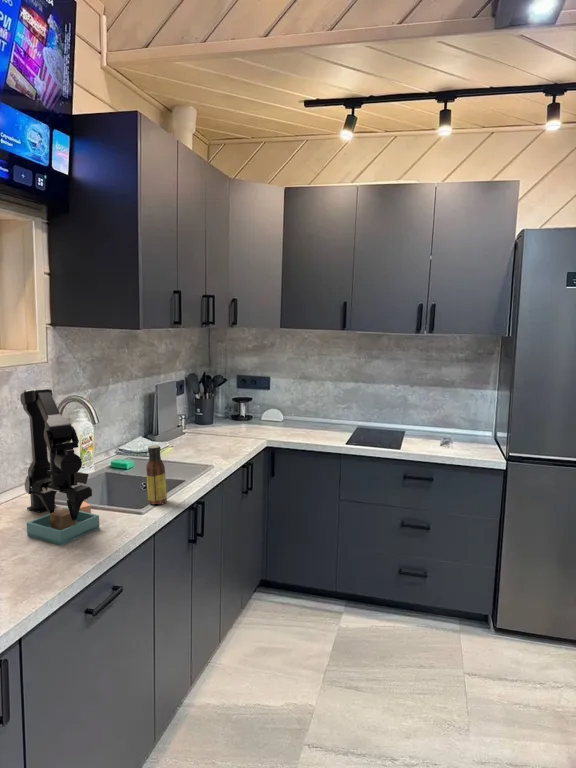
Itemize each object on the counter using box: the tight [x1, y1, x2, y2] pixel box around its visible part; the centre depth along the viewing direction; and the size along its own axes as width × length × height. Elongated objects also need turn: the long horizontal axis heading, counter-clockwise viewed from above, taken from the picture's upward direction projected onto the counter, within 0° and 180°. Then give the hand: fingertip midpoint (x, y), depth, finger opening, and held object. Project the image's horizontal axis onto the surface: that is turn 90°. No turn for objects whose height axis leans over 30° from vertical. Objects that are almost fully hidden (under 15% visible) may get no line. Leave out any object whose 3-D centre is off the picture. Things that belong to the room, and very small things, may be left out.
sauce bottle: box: [145, 444, 168, 505], centre depth 183 cm, size 7×6×20 cm
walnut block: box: [49, 507, 76, 530], centre depth 159 cm, size 5×5×5 cm
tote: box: [26, 506, 100, 546], centre depth 159 cm, size 14×14×4 cm
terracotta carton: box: [79, 500, 92, 514], centre depth 174 cm, size 6×5×3 cm
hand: (63, 517), depth 159 cm, fingers open, 9 cm apart
